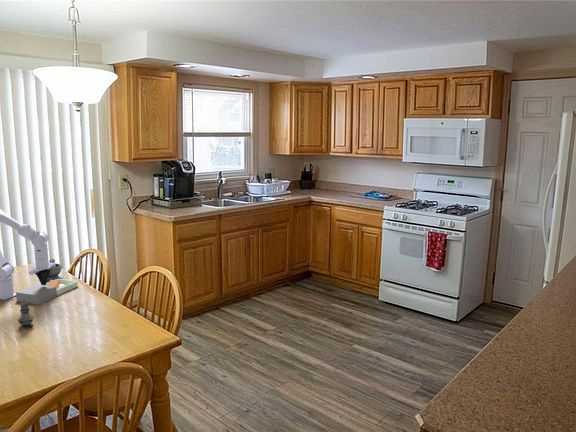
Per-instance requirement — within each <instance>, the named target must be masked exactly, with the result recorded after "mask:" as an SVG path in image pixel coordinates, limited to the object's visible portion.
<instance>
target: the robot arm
mask: <svg viewBox="0 0 576 432" xmlns="http://www.w3.org/2000/svg"><path fill="white" fill-rule="evenodd" d="M0 223H2V224H4V225H7V226H8V227H10V228H12V229H14V230H15V231H17V234H18V235H19V236H21V237H22V238H24V239H26V240H28V241H29V242H30V243H31V244H32V246H33V247H34V263H35V266H34V267H33V268H31V269H29V270H28V275H32V276H33V275H34V274H35V275H36V277H37V278H38V280H39V283H40V285H46V284H47V283H48V280H47V279H48V276H49V274H50V272H51V270H49V269H50V268H51V267H55V264H56V263H50V262H49V252H48V250H49V249H48V242H49V235H48V234H47V233H46V232H44V231H40V230H38V229H35V228H34V227H32V225H31V224H26V223H23V224H22V223H20V222H19V221H17V220H16V219H15V218H13V217H12V216H11V215H9V214H7V213H5V212H4V211H3V210H2V209H0ZM14 271H15V267H14V266H13V265H12V264H11V263H10V262H9V260H8V259H7V258H5V257H4V255H3V253H2V251H1V250H0V300H3V301H5V300H8V299H11V298H13V297H16V292H15V291H14V280H13V274H14Z"/></svg>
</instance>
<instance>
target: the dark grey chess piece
mask: <svg viewBox="0 0 576 432" xmlns="http://www.w3.org/2000/svg"><path fill="white" fill-rule="evenodd" d="M19 303H20V310H19V312H20V317H18V318H17V322H18V324H19V325H20V326H19V327H18V329H19V330H27V329H31V328H33V327H34V324H33V321H34V316H32V315H30V307H29V303H28V302H27V301H25V300H23V301H22V302H19Z"/></svg>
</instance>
